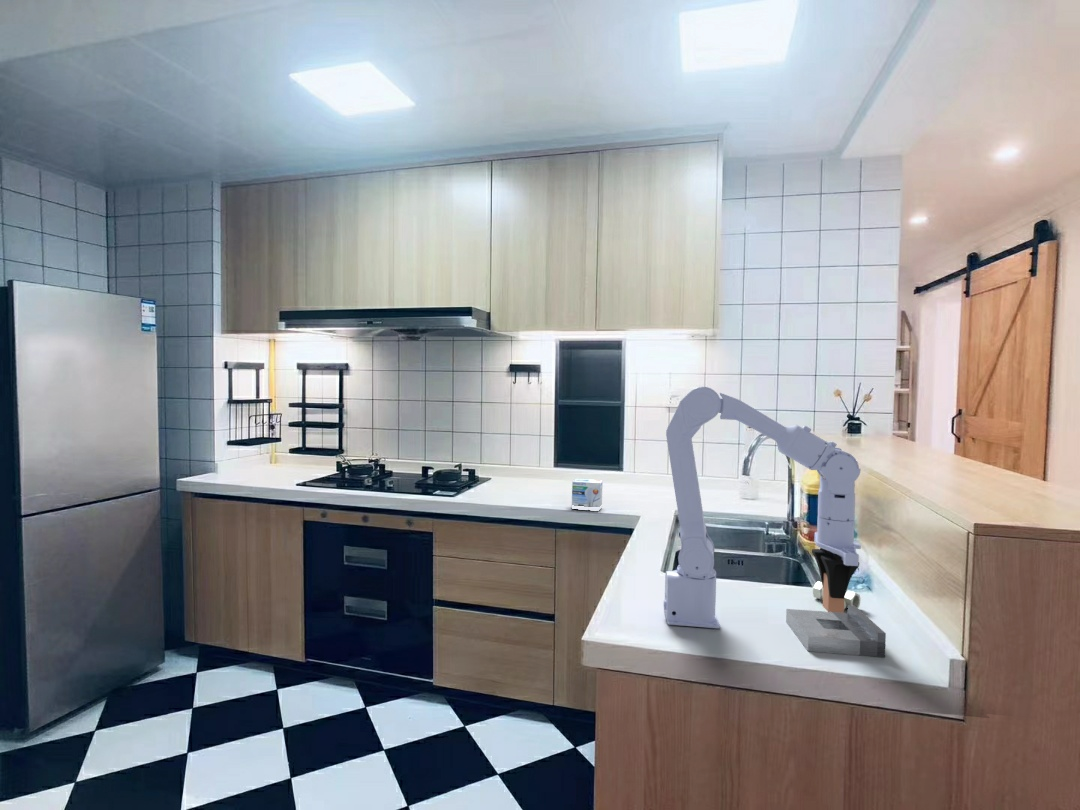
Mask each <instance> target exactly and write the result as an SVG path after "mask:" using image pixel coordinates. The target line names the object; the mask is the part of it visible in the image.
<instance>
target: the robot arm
mask: <svg viewBox="0 0 1080 810" xmlns="http://www.w3.org/2000/svg"><path fill="white" fill-rule="evenodd" d="M718 414H720V416H719V417H720V420H728V421H729V420H730V421H733V420H734V421H737V422H740V423H742V424H743V425H745V426H747V427H749V428H751V429H753V430H755V431H756V432H758V433H760V434H762V435H764V436H766V437H768V438H769V439H771V440H773V441H775V443H776V446H777V449H778V452H779V453H781V454H782V455H784V456H786V457H787V458H789V459H791V460H793V461H795V462H796V463H798V464H800V465H802V466H803V467H805V468H806V469H809V470H811V471H817V474H819V489H818V491H817V492H818V494H817V495H818V496H817V523H816V524H817V526H816V527H817V528H816V529H817V531H815V532H814V536H813V537H814V538H813V540H814V541H813V542H814V543H815V546H816V547H818V548H813V549H811V553H812V555H813V557H814V559H815V561H816V565H817V568H818V571H819V572H818V573H819V577H820V582H822V587H823V580H824V573H827V579H828V589H829V594H830V597H831V598H841V599H844V597H845V594H846V591H848V588H849V585H850V582H851V579H852V577H853V575H854V574H855V571H857V570H858V568H859V567H860V562H859V558H860V555H859V554H858V553H857V551H856V550H861V548H862V545H861V544H860V543H859V542H854V541H855V540H854V539H855V513H856V511H855V510H856V493H855V488H856V483H855V482H856V481H857V480H858V478H859V477H860V475H861V471H862V470H861V468H859V467H860V466H859V463H858V461H857V459H856V458H855V456H854V455H852V454H850V453H848V451H845V450H842V448H840V447H837V446H838V445H837V443H836V442H834V441H832V440H830V441H829V442H828V441H827V440H824V439H823V438H821V437H820V436H818V435H817V434H816V435H815V434H814V433H813V432H811V431H812V428H811V427H808V426H807V425H803V426H802V427H801V426H800V425H798V424H794V425H789V426H785V425H783V424H781V423H779V422H777V421H776V420H774V419H773V418H771V417H769V416H767V415H766V414H764V413H762V412H760V411H759V410H757V409H756V408H754V407H752V406H750V405H749V404H747V403H746V402H744V401H742V400H740V399H738V398H735V397H733V396H730V395H727V394H725V393H721V392H719V393H718V392H716V391H715V390H714V389H713V388H711V387H708V386H699V387H695V388H693V389H691V390H690V391H689V392H688V393H687V394H686V395H685V396H684V397H683V398H682V399H681V400H680V401H679V403H678V406H677V408H676V410H675V412H674V414H673V416H672V418H671V420H670V422H669V424H668V426H667V428H666V432H665V433H666V434H665V436H666V441H667V442H666V443H667V448H668V449H667V450H668V456H669V462H670V469H671V474H672V476H671V477H672V483H673V489H674V493H675V502H676V507H677V514H678V522H679V533H680V534H679V535H680V536H679V537H680V538H679V539H680V544H681V545H680V546H681V547H680V550H679V553H678V556H677V559H678V565H677V567H676V569H674V570H666V571H665V580H664V600H663V610H664V614H665V619H666V623H667V625H669V626H670V625H671V626H683V627H695V628H696V627H698V628H707V629H708V628H709V629H721V624H720V621H719V619H718V616H717V615H716V605H717V604H716V598H717V597H716V596H717V571H716V570H715V568H714V566H715V557H714V555H715V545H714V542H713V540H712V538H711V537H710V536H709V534H708V532H707V531H708V530H707V527H706V526H707V525H706V521H705V516H704V511H703V504H702V497H701V491H700V484H699V477H698V471H697V465H696V458H695V451H694V447H693V446H694V445H693V438H694V436H695V435H696V434H697V433H698V432H699V430H700V429H701V427H702V426H704V425H705V424H707V423H708V422H710V421H711V420H713V419H714V418H715V417H717V416H718Z"/></svg>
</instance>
